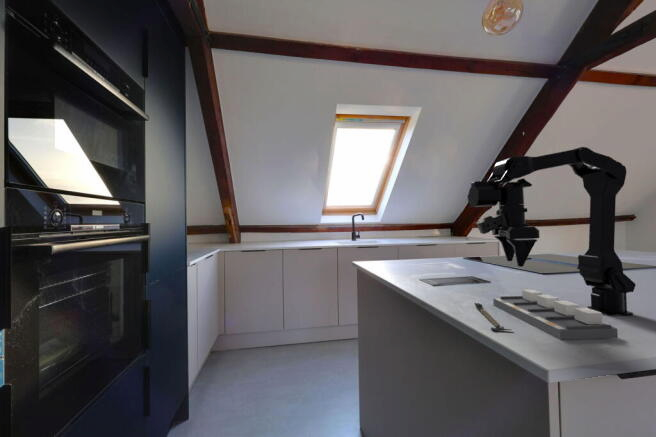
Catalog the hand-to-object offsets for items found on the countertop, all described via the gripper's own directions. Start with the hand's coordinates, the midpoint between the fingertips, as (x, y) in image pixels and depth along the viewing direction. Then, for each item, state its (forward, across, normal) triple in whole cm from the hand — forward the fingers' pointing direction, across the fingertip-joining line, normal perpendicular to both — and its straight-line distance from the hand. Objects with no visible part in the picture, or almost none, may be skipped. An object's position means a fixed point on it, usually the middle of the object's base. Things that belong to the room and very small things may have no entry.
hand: (514, 263), depth 78 cm
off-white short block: (+11, +10, +11) cm, 19 cm away
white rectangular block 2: (+11, +4, +9) cm, 15 cm away
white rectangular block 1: (+11, -7, +6) cm, 15 cm away
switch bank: (+14, +2, +5) cm, 15 cm away
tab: (+11, -1, +7) cm, 14 cm away
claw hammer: (+14, +4, -7) cm, 16 cm away
